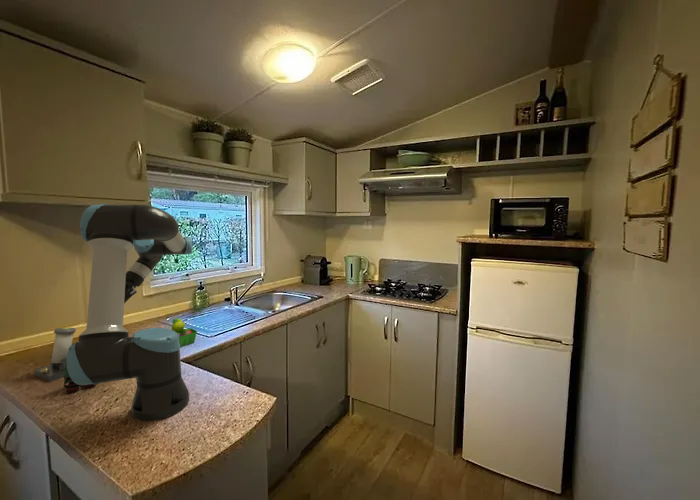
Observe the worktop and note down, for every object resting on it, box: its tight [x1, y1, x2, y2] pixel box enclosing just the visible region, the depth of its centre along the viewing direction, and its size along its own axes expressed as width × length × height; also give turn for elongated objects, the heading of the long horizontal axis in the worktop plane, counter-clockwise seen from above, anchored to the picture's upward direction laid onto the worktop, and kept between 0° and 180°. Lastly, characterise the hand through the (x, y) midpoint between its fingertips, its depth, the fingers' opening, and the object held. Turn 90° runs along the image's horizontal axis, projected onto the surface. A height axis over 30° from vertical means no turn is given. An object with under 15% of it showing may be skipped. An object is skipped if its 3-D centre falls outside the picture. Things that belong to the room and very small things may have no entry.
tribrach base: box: [33, 355, 67, 383], centre depth 120 cm, size 11×11×6 cm
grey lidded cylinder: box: [50, 327, 77, 363], centre depth 121 cm, size 6×6×12 cm
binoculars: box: [63, 358, 97, 395], centre depth 109 cm, size 9×11×10 cm
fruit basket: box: [171, 317, 198, 347], centre depth 146 cm, size 11×9×11 cm
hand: (97, 323), depth 132 cm, fingers closed
